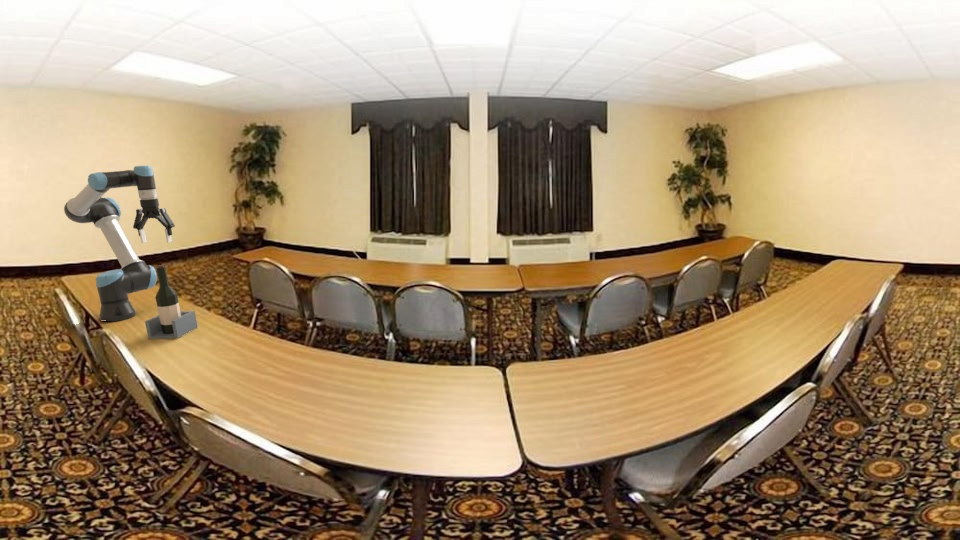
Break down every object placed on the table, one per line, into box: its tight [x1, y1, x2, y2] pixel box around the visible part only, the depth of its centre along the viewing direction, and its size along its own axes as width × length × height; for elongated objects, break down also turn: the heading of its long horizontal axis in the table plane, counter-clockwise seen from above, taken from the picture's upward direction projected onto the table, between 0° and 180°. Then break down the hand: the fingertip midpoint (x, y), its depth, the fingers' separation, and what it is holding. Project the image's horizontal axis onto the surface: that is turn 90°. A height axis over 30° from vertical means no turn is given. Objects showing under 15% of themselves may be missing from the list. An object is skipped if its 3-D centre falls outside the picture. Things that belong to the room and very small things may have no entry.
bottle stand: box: [144, 310, 199, 340], centre depth 244 cm, size 14×14×8 cm
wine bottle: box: [155, 264, 181, 334], centre depth 241 cm, size 8×8×30 cm
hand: (157, 242), depth 266 cm, fingers open, 13 cm apart
